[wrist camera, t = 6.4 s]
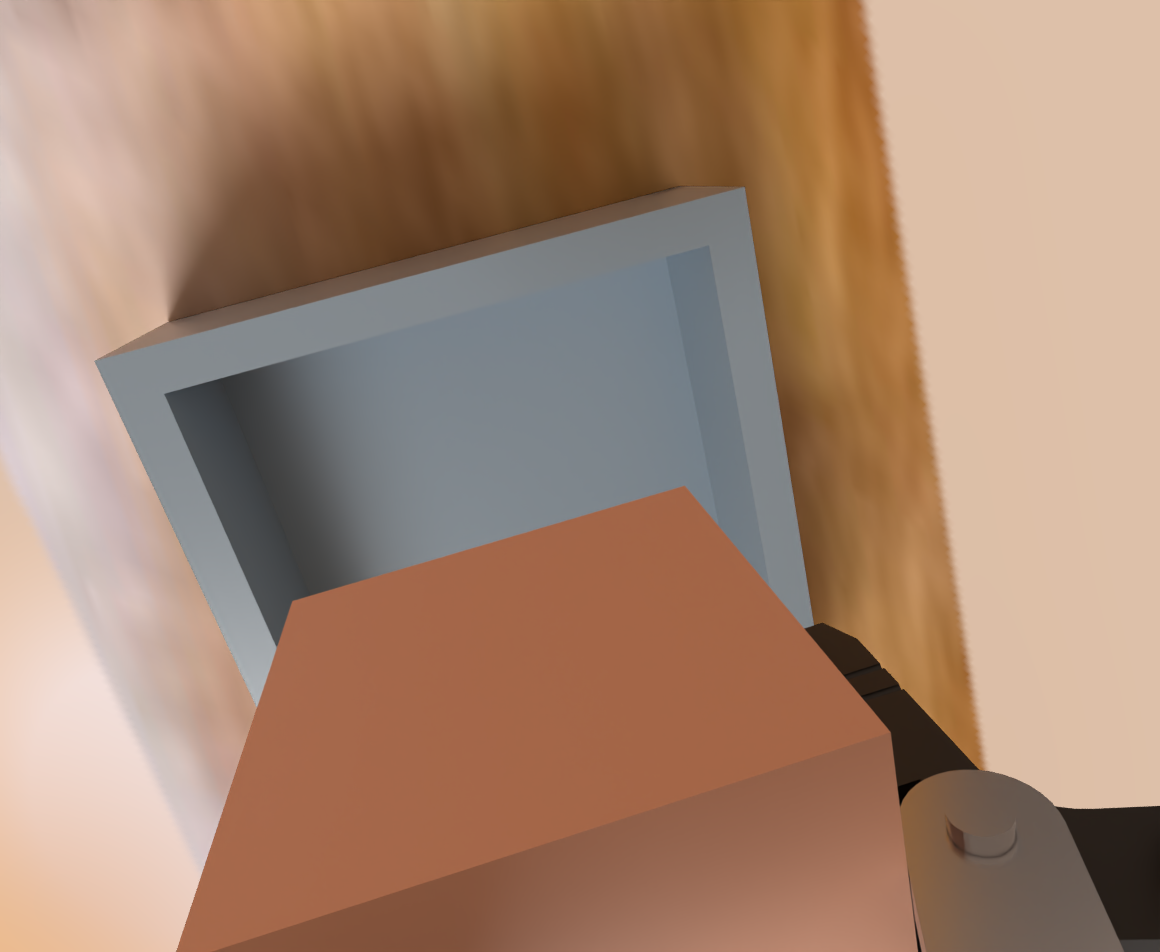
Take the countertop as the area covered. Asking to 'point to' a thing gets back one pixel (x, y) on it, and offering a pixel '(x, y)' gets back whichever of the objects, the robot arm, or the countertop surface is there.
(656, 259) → the tote
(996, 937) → the robot arm
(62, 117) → the countertop surface
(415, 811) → the terracotta cube
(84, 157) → the countertop surface
